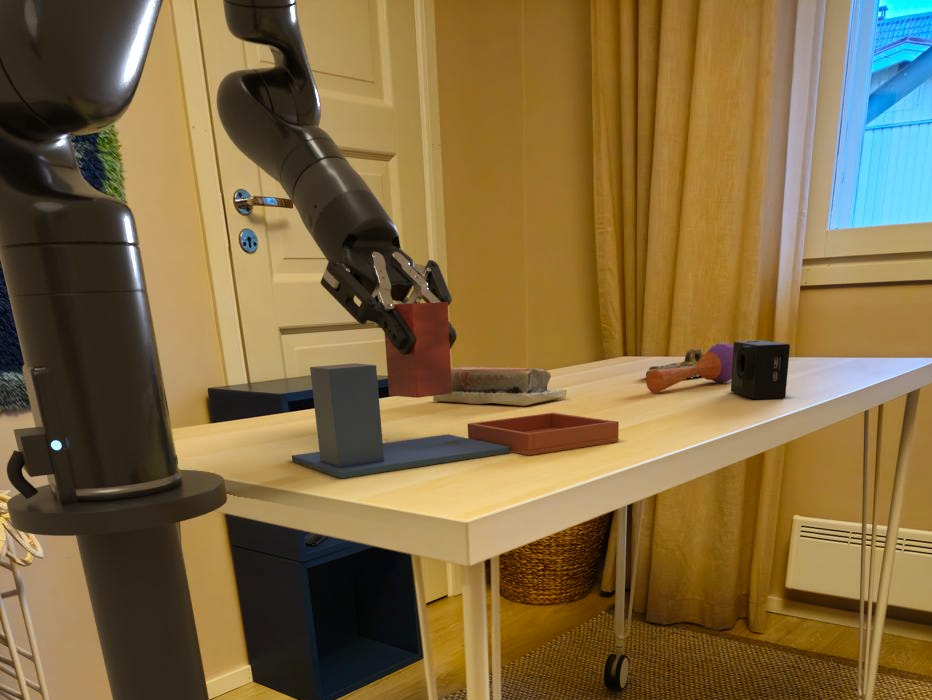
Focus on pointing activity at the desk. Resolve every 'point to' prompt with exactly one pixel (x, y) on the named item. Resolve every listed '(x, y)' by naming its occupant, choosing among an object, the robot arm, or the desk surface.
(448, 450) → the blue mat
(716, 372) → the orange and purple microphone
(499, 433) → the red tray
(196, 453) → the desk surface
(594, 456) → the desk surface
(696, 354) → the seal
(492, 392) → the weathered brick on slab
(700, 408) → the desk surface
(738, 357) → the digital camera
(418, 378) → the red block
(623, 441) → the desk surface
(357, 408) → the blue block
